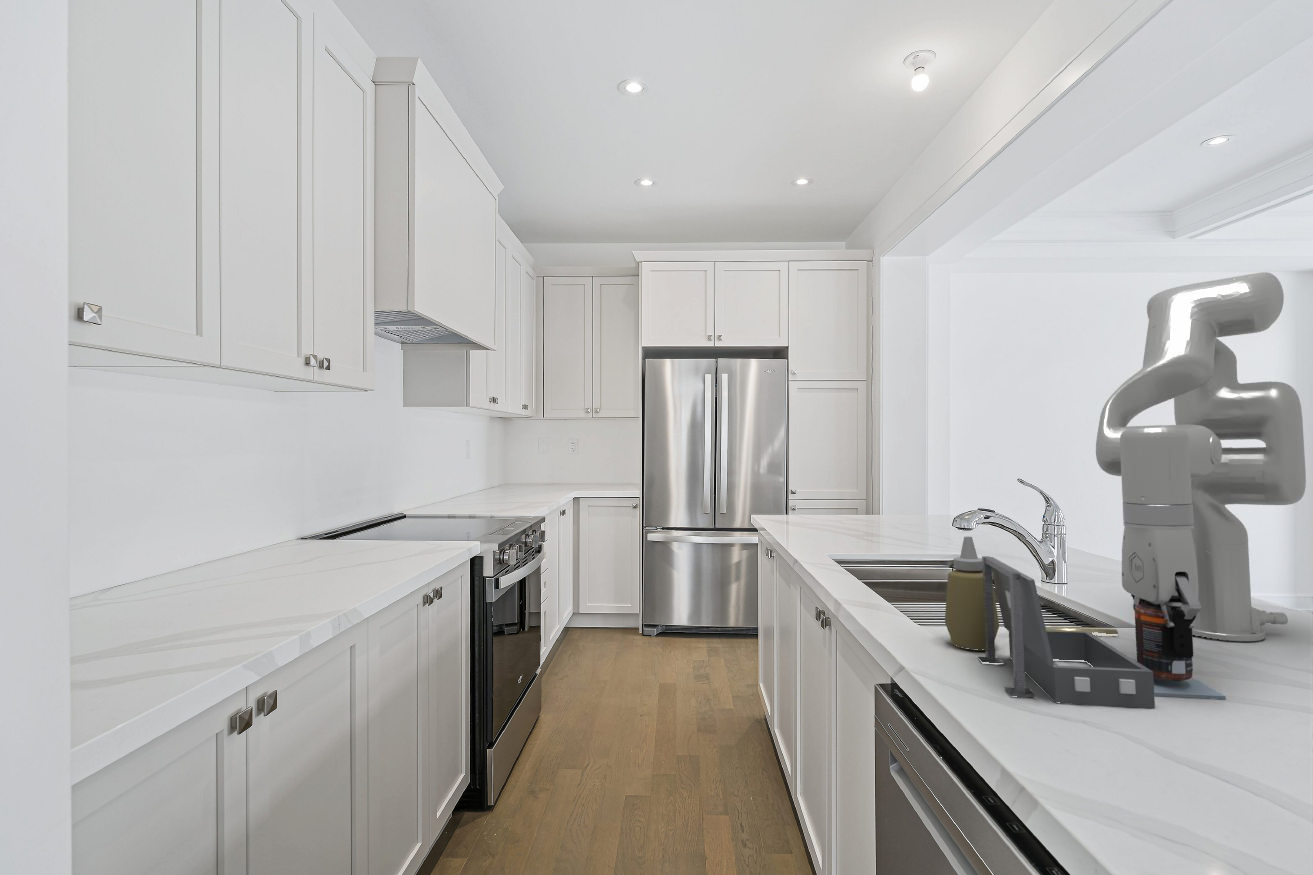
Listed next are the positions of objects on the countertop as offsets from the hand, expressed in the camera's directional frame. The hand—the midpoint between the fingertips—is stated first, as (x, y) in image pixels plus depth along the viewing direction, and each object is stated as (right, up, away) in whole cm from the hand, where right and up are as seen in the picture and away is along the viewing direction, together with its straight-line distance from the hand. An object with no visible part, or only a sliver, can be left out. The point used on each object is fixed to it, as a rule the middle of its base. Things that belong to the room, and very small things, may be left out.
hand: (1163, 647), depth 86 cm
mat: (0, -5, 0) cm, 5 cm away
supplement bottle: (0, -4, 0) cm, 4 cm away
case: (-11, -5, +2) cm, 12 cm away
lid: (-17, +5, +4) cm, 18 cm away
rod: (+4, -6, +23) cm, 24 cm away
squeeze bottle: (-17, -6, +18) cm, 26 cm away
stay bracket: (-19, -6, +4) cm, 21 cm away
